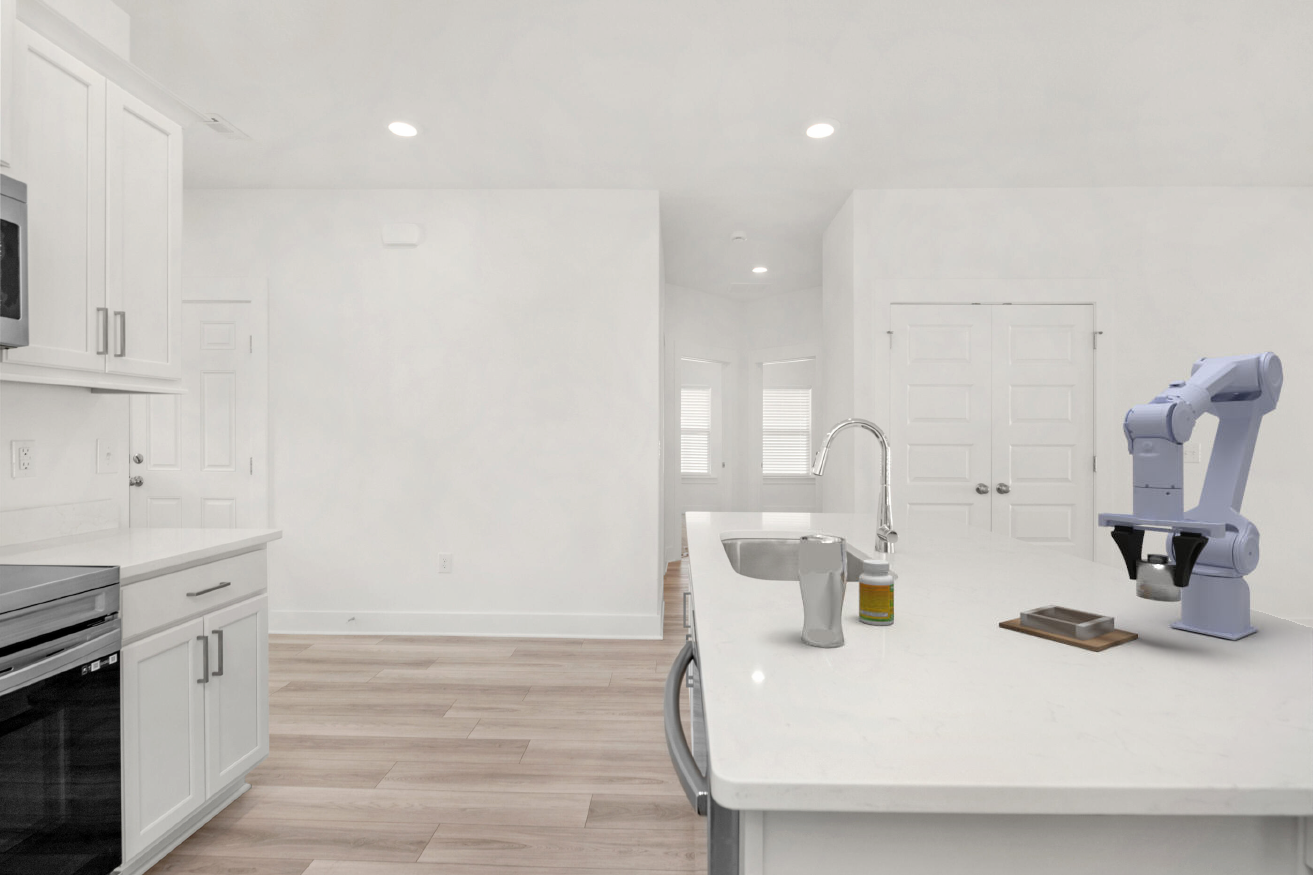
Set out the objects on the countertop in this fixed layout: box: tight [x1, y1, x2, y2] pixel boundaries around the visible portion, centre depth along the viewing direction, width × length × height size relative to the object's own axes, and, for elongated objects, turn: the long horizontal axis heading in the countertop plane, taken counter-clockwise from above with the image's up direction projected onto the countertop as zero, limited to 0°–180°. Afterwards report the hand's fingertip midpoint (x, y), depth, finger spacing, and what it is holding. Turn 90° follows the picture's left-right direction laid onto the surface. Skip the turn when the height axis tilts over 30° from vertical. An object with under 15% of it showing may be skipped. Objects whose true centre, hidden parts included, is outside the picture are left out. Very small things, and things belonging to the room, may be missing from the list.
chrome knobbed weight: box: [1135, 553, 1181, 603], centre depth 91 cm, size 5×5×6 cm
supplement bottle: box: [858, 558, 895, 626], centre depth 104 cm, size 5×5×10 cm
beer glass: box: [797, 534, 848, 648], centre depth 93 cm, size 7×7×15 cm
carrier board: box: [998, 604, 1139, 652], centre depth 97 cm, size 12×14×3 cm
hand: (1158, 582), depth 91 cm, fingers closed on chrome knobbed weight, 5 cm apart
